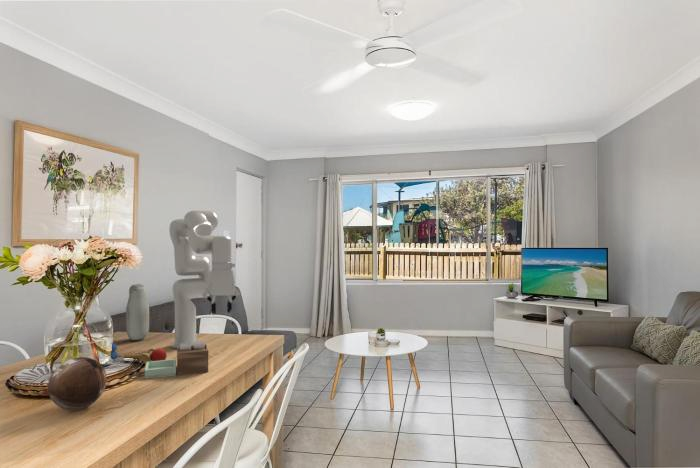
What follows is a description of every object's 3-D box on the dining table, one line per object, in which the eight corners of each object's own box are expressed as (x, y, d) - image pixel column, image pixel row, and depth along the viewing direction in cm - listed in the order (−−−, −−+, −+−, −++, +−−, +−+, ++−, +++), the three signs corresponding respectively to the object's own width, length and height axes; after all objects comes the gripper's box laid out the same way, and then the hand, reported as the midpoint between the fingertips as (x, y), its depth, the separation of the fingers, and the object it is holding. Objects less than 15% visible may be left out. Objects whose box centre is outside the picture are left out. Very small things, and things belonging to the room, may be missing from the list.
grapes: (82, 367, 175) (82, 337, 175) (93, 362, 182) (93, 333, 182) (110, 368, 174) (110, 337, 174) (120, 363, 181) (120, 333, 181)
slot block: (177, 366, 176) (177, 346, 176) (206, 363, 180) (206, 343, 180) (177, 375, 165) (177, 353, 165) (208, 371, 169) (208, 350, 169)
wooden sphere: (34, 415, 128) (35, 363, 128) (79, 397, 142) (79, 350, 143) (76, 420, 124) (76, 366, 124) (117, 401, 138) (117, 353, 139)
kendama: (118, 368, 179) (159, 363, 176) (118, 352, 180) (159, 347, 178) (131, 366, 186) (170, 361, 184) (131, 350, 188) (170, 346, 185)
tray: (146, 369, 172) (146, 361, 172) (175, 366, 176) (175, 359, 176) (144, 378, 161) (144, 370, 161) (176, 375, 165) (176, 367, 165)
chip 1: (179, 353, 173) (179, 343, 173) (190, 352, 174) (190, 342, 174) (180, 356, 169) (180, 345, 169) (191, 355, 171) (191, 344, 171)
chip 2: (193, 352, 175) (193, 342, 175) (204, 351, 176) (204, 341, 176) (193, 354, 171) (193, 344, 171) (204, 353, 172) (204, 343, 172)
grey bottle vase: (137, 337, 229) (137, 282, 229) (153, 338, 225) (153, 283, 226) (121, 341, 219) (121, 284, 220) (137, 342, 216) (137, 285, 216)
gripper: (241, 266, 184) (241, 310, 184) (198, 267, 177) (198, 312, 177) (244, 267, 177) (244, 312, 177) (199, 268, 170) (199, 315, 170)
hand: (221, 312), depth 177 cm, fingers open, 4 cm apart
